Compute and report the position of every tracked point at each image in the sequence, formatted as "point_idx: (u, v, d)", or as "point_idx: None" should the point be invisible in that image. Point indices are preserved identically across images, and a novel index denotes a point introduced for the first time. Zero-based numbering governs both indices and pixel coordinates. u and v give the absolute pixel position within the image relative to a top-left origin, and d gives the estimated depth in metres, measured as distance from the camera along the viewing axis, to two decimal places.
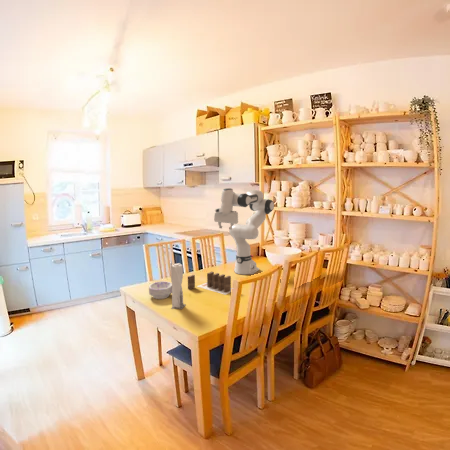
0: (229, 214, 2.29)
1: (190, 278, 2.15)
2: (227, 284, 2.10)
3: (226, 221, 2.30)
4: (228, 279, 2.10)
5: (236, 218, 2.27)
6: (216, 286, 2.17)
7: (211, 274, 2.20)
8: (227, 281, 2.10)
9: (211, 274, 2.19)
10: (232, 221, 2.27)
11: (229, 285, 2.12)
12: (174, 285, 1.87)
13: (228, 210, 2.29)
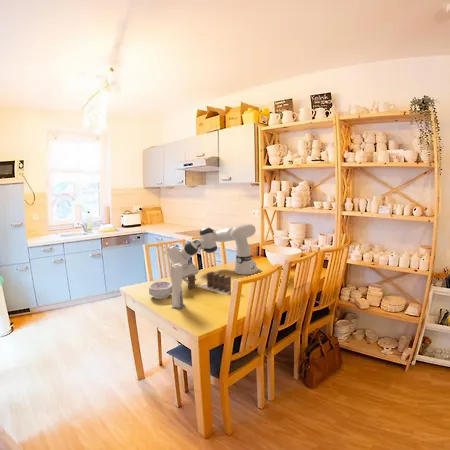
0: (189, 266, 2.23)
1: (190, 278, 2.15)
2: (227, 284, 2.10)
3: (191, 272, 2.20)
4: (228, 279, 2.10)
5: None
6: (216, 286, 2.17)
7: (211, 274, 2.20)
8: (227, 281, 2.10)
9: (211, 274, 2.19)
10: (196, 270, 2.24)
11: (229, 285, 2.12)
12: (174, 285, 1.87)
13: None
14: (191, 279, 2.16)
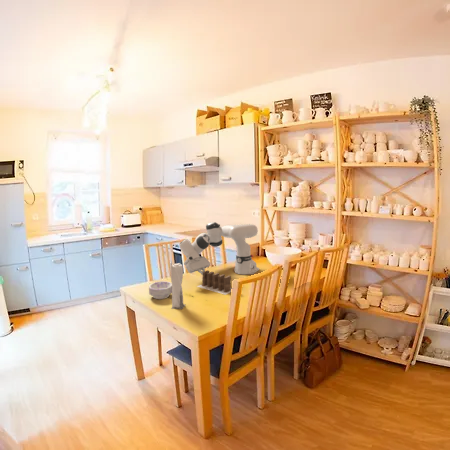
0: (201, 259, 2.30)
1: (205, 274, 2.21)
2: (227, 284, 2.10)
3: (203, 265, 2.27)
4: (228, 279, 2.10)
5: None
6: (216, 286, 2.17)
7: (211, 274, 2.20)
8: (227, 281, 2.10)
9: (211, 274, 2.19)
10: (207, 263, 2.31)
11: (229, 285, 2.12)
12: (174, 285, 1.87)
13: None
14: (206, 275, 2.22)
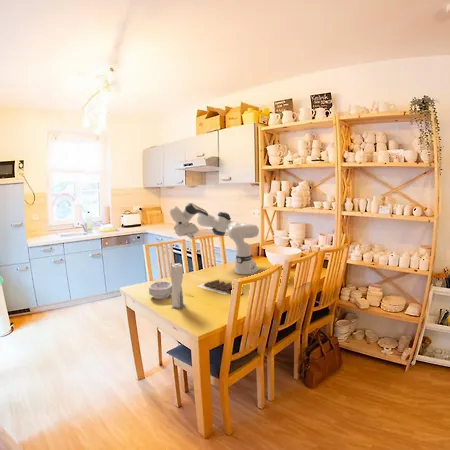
0: (190, 224, 2.44)
1: None
2: None
3: (191, 230, 2.41)
4: None
5: None
6: (219, 288, 2.16)
7: None
8: None
9: None
10: (196, 229, 2.45)
11: None
12: (174, 285, 1.87)
13: None
14: (214, 283, 2.18)
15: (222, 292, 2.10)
